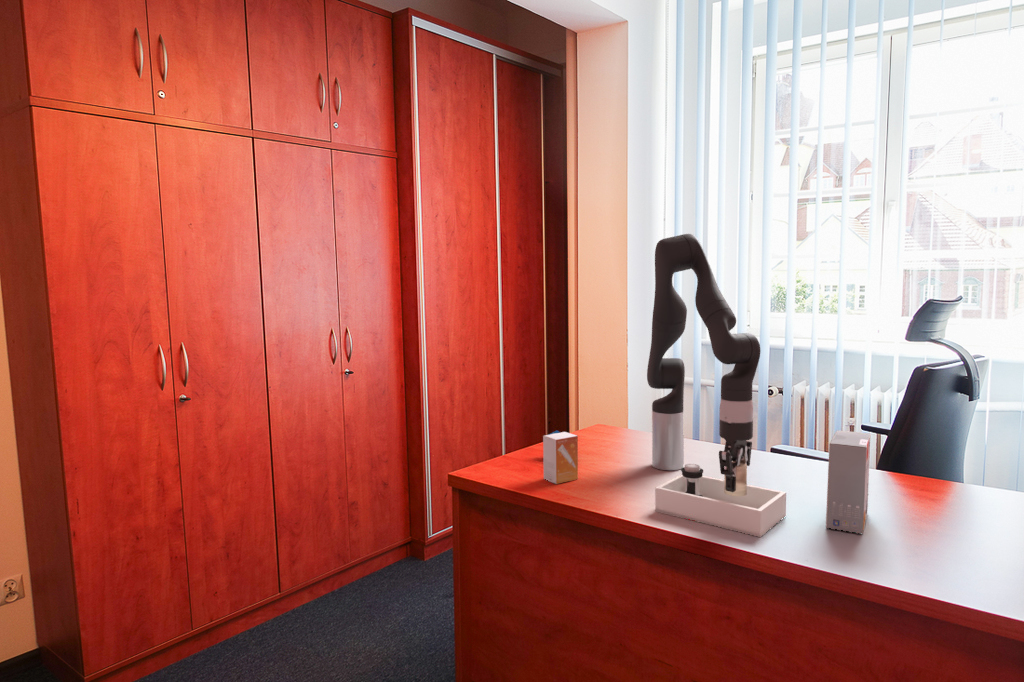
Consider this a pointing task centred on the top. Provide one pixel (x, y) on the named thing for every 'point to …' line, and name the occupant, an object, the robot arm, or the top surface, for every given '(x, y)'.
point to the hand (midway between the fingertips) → (735, 487)
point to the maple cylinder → (739, 481)
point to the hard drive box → (848, 481)
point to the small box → (560, 457)
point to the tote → (722, 505)
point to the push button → (692, 478)
